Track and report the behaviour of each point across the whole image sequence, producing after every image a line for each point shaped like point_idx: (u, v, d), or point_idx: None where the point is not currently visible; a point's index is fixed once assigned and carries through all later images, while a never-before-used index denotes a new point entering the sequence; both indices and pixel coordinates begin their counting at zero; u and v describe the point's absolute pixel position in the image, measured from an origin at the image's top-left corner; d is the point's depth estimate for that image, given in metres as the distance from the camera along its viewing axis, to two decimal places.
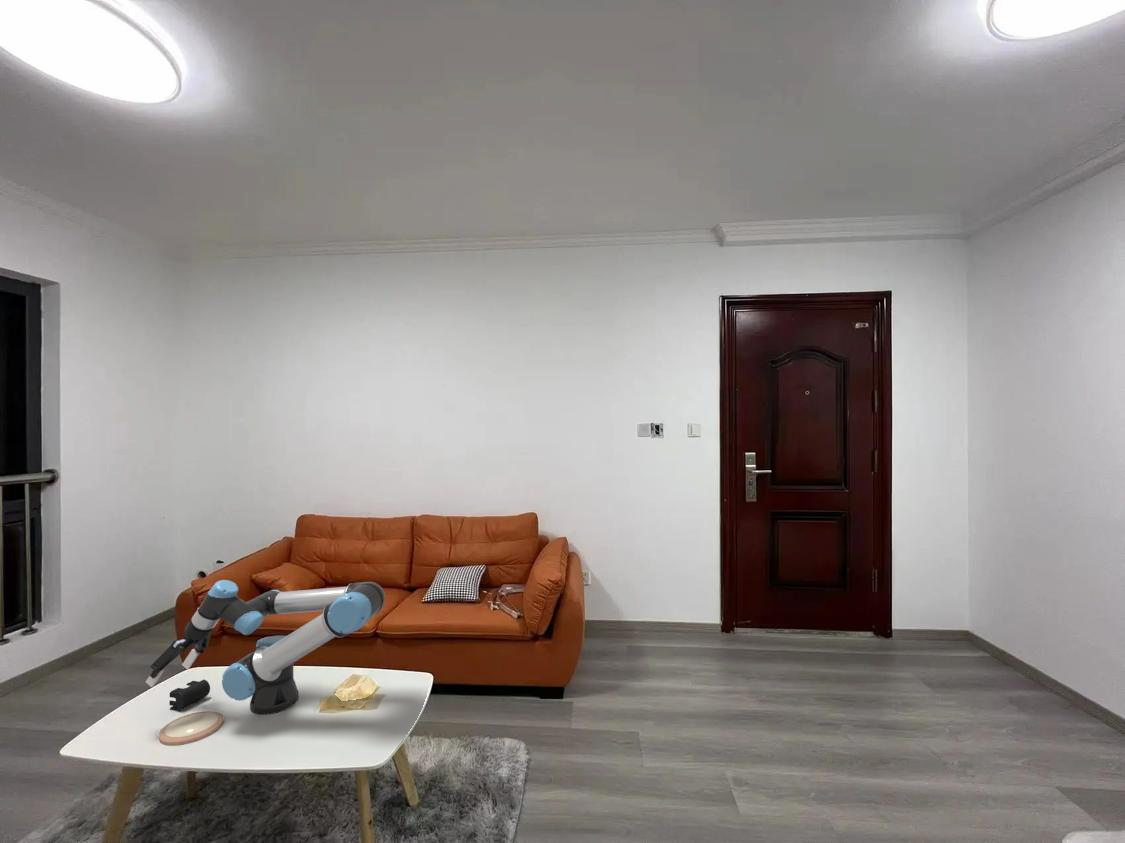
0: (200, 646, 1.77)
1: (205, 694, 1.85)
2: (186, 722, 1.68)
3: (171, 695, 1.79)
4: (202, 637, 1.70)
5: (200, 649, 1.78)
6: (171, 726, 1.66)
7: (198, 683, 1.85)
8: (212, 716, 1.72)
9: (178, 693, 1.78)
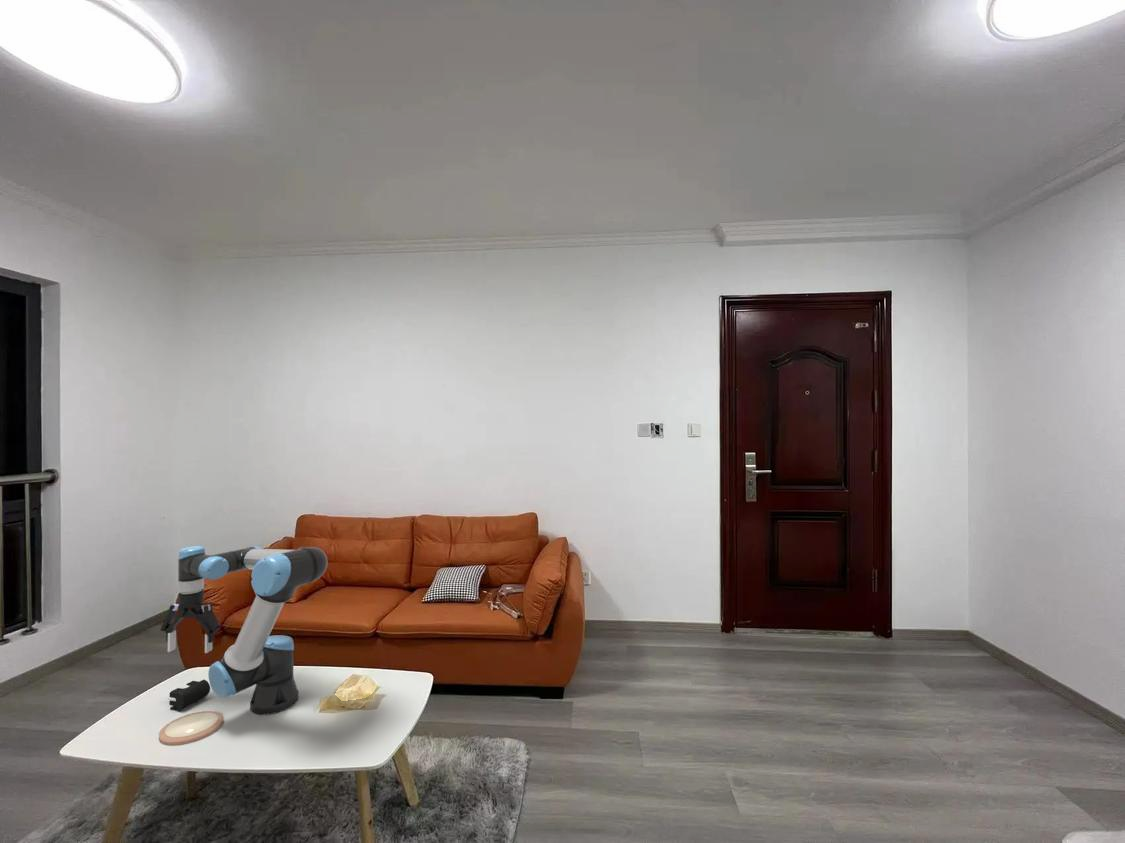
0: (202, 623, 1.82)
1: (205, 694, 1.85)
2: (186, 722, 1.68)
3: (171, 695, 1.79)
4: (179, 601, 1.80)
5: (205, 628, 1.82)
6: (171, 726, 1.66)
7: (198, 683, 1.85)
8: (212, 716, 1.72)
9: (178, 693, 1.78)
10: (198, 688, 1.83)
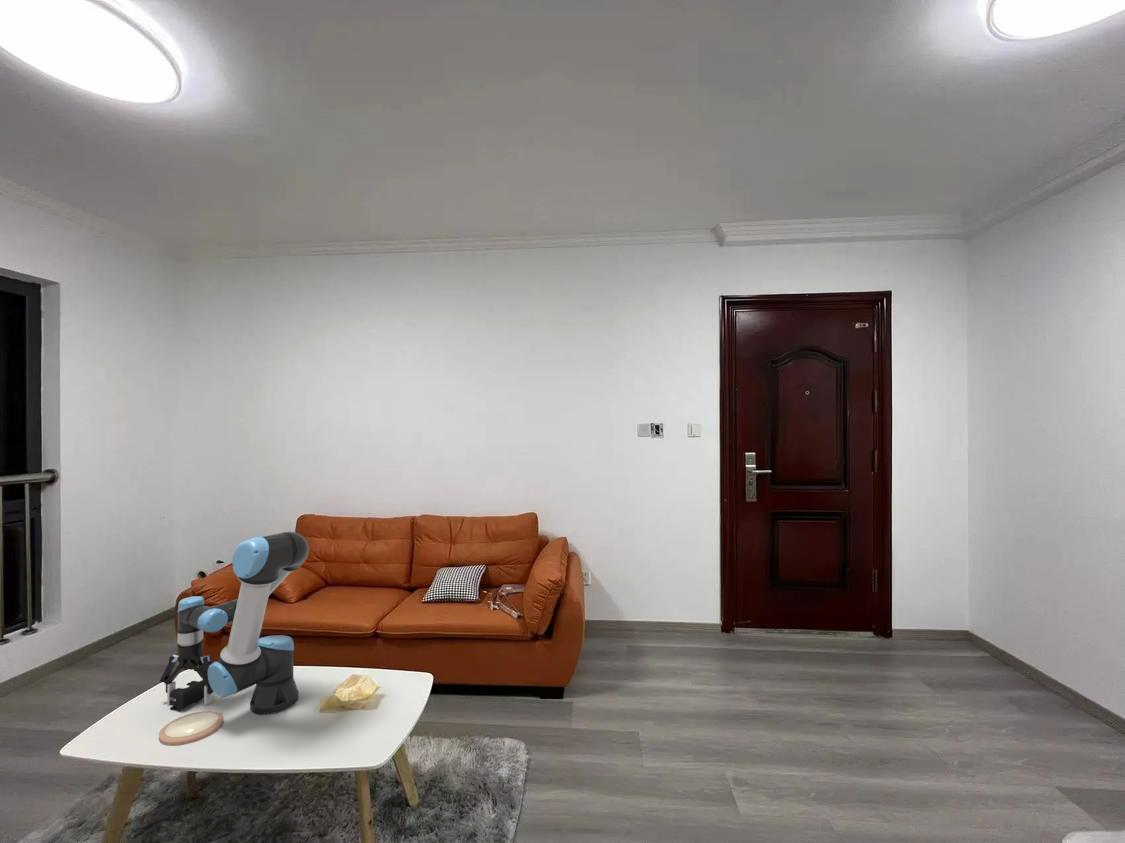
0: (201, 675, 1.82)
1: None
2: (186, 722, 1.68)
3: (171, 695, 1.79)
4: (178, 653, 1.80)
5: (205, 680, 1.82)
6: (171, 726, 1.66)
7: (198, 683, 1.85)
8: (212, 716, 1.72)
9: (178, 693, 1.78)
10: (198, 688, 1.83)
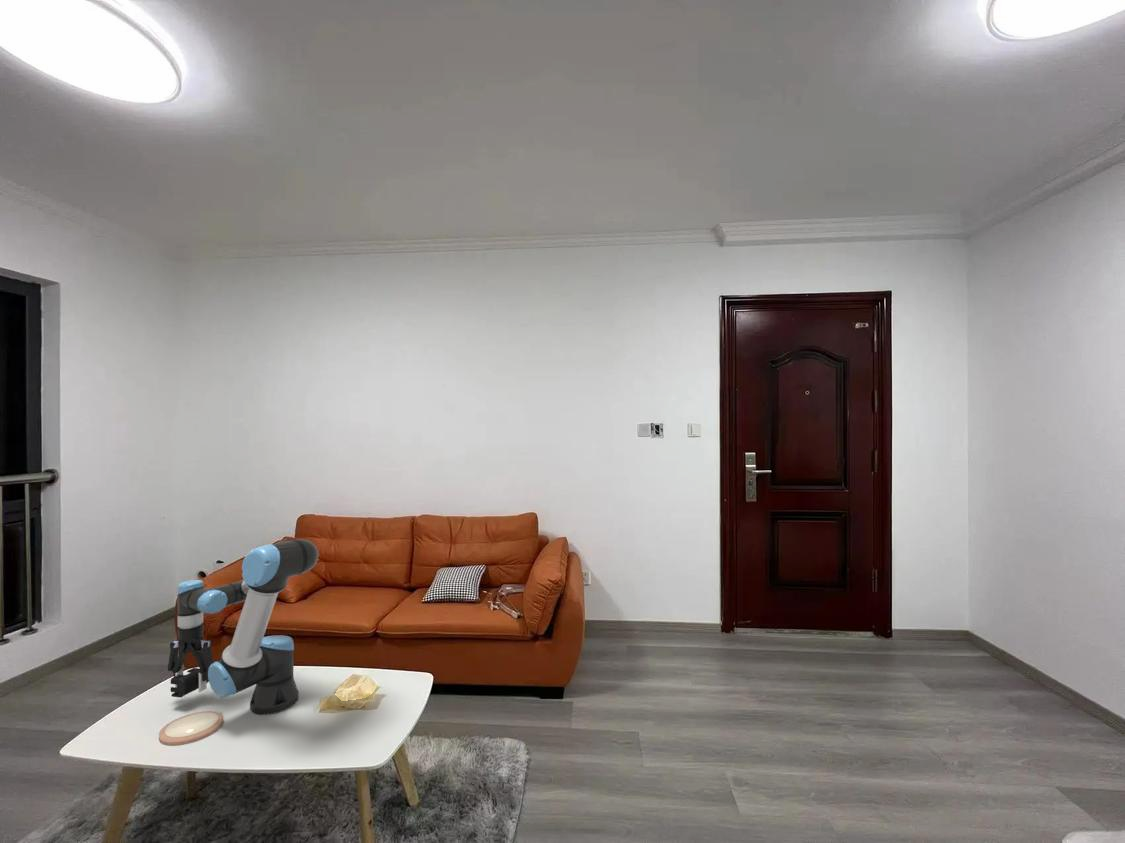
0: (198, 660, 1.82)
1: (206, 681, 1.85)
2: (186, 722, 1.68)
3: (172, 682, 1.79)
4: (179, 636, 1.80)
5: (200, 666, 1.82)
6: (171, 726, 1.66)
7: (199, 670, 1.85)
8: (212, 716, 1.72)
9: (179, 679, 1.78)
10: None
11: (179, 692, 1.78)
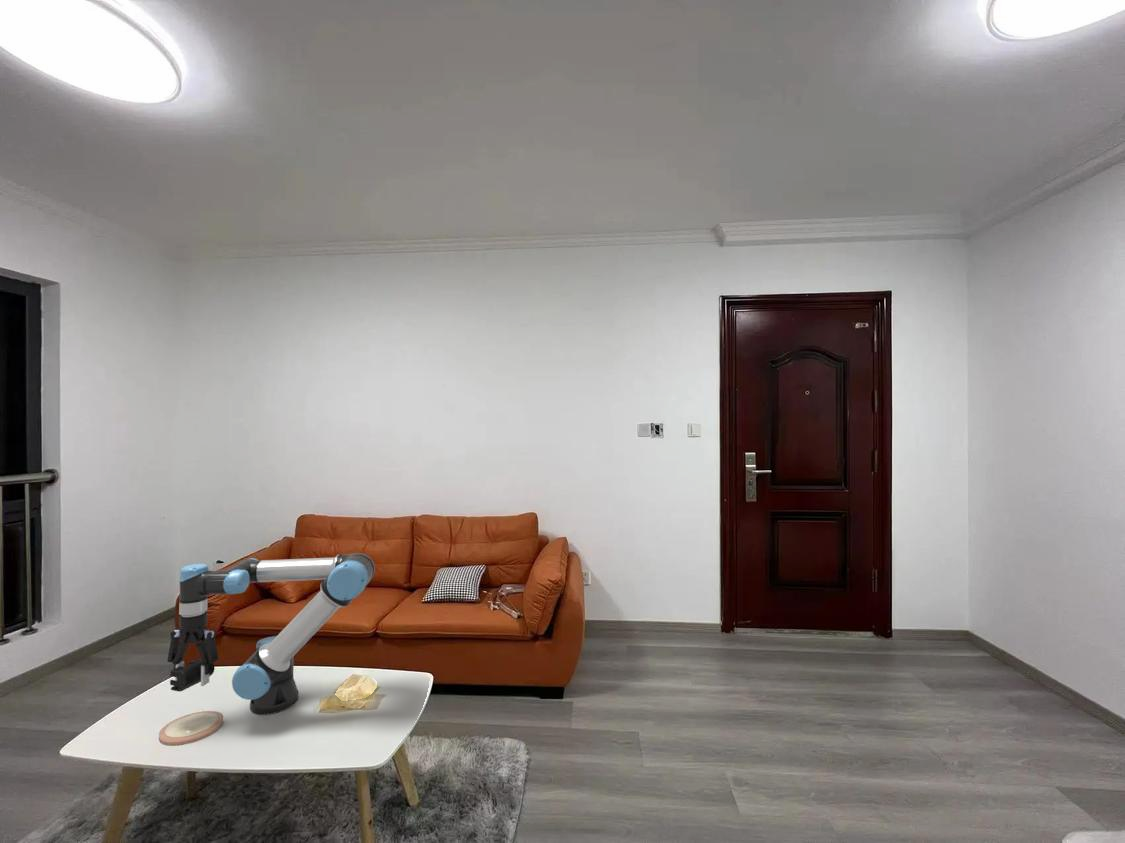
0: (201, 652, 1.67)
1: (209, 674, 1.70)
2: (186, 722, 1.68)
3: (172, 674, 1.64)
4: (180, 625, 1.65)
5: (203, 658, 1.66)
6: (171, 726, 1.66)
7: (201, 662, 1.69)
8: (212, 716, 1.72)
9: (180, 672, 1.63)
10: None
11: (179, 686, 1.63)
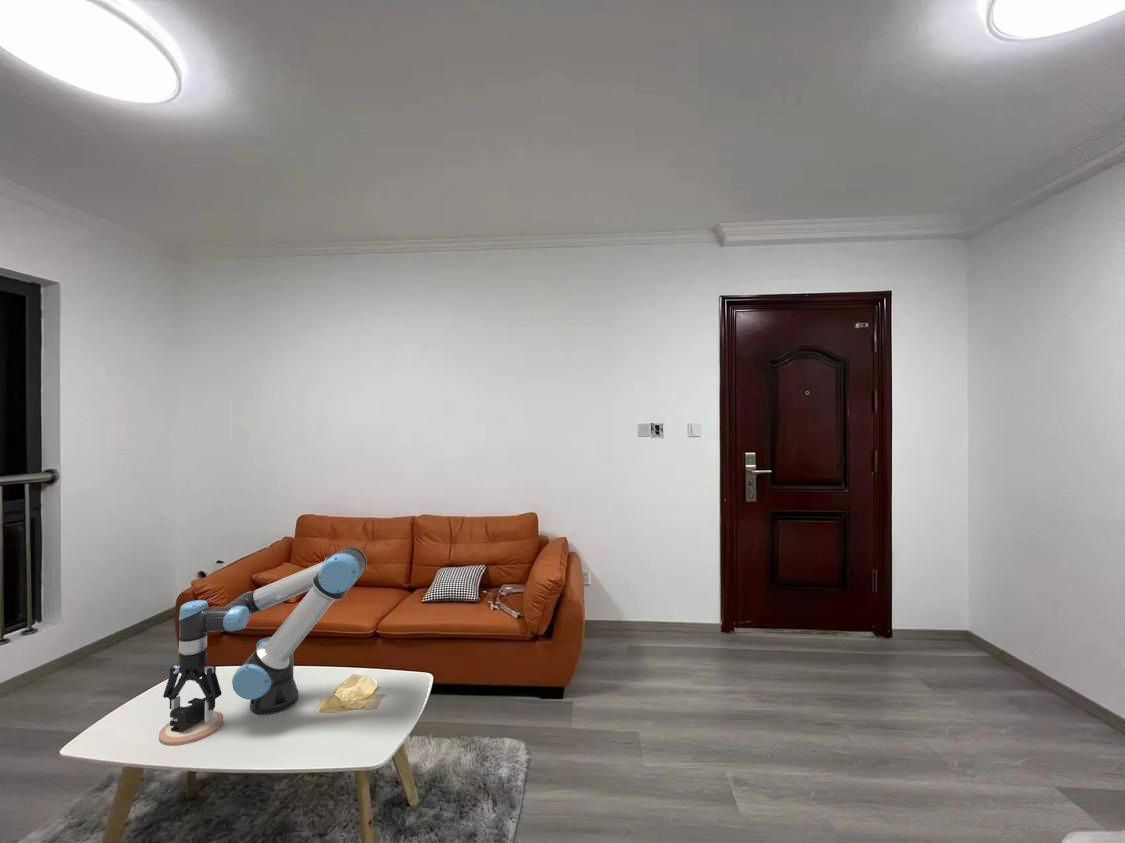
0: (203, 688, 1.66)
1: None
2: None
3: (172, 715, 1.64)
4: (180, 663, 1.64)
5: (206, 694, 1.66)
6: (171, 726, 1.66)
7: (201, 701, 1.69)
8: None
9: (180, 712, 1.62)
10: (201, 706, 1.68)
11: (180, 726, 1.62)
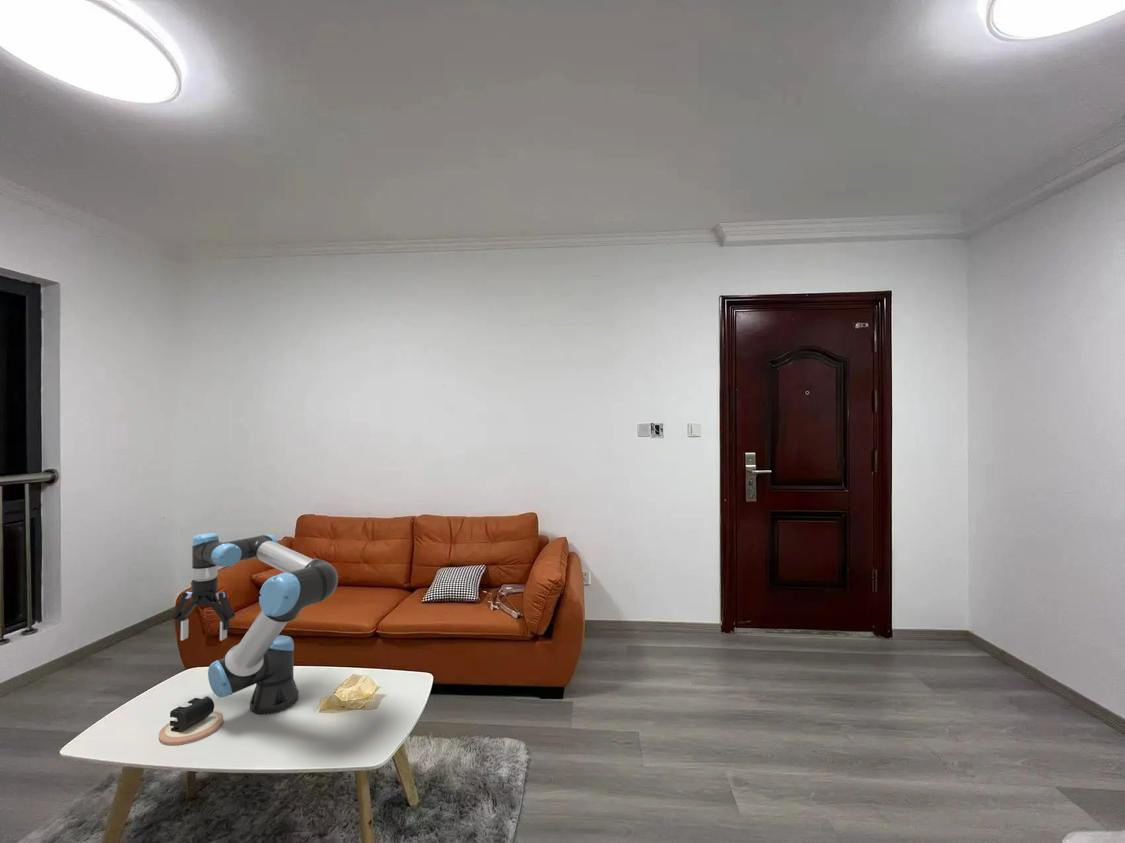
0: (217, 611, 1.80)
1: (209, 712, 1.70)
2: None
3: (172, 715, 1.64)
4: (193, 588, 1.78)
5: (220, 616, 1.80)
6: (171, 726, 1.66)
7: (201, 701, 1.69)
8: (212, 716, 1.72)
9: (180, 712, 1.62)
10: (202, 706, 1.68)
11: (180, 726, 1.62)
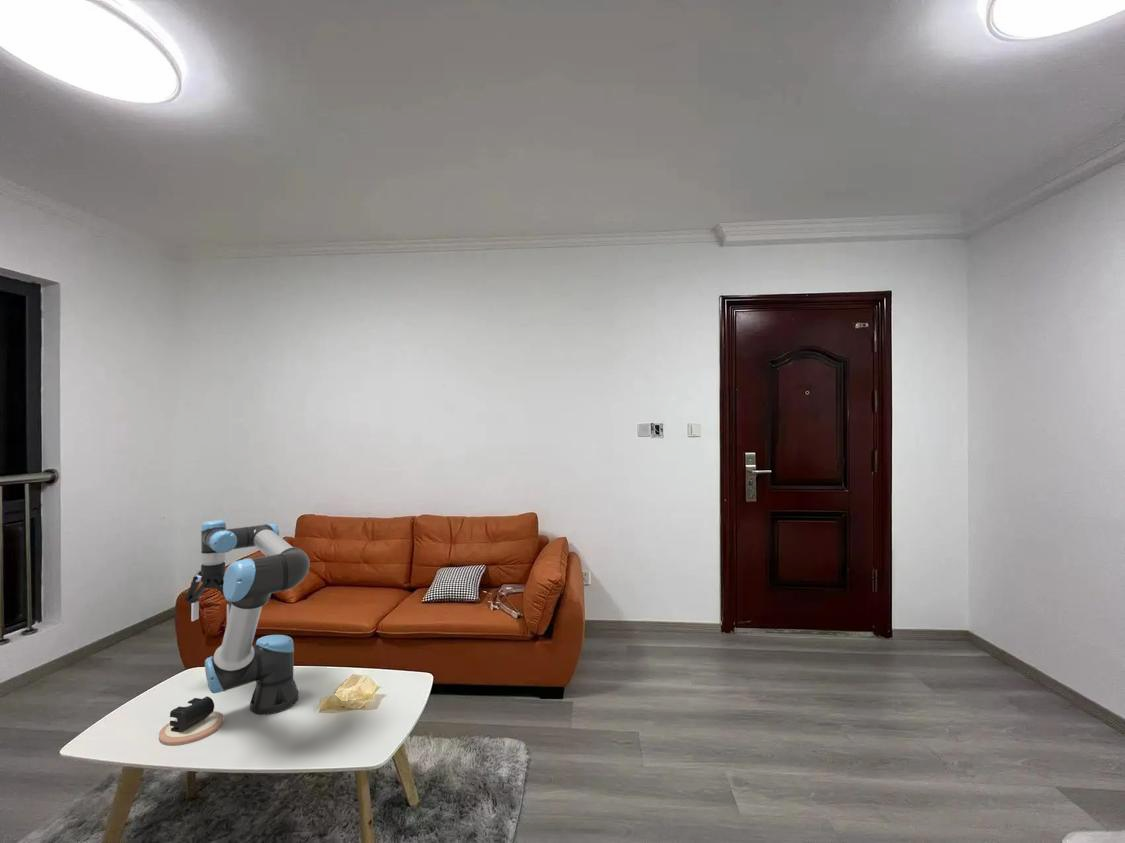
0: None
1: (209, 712, 1.70)
2: None
3: (172, 715, 1.64)
4: (202, 572, 1.89)
5: None
6: (171, 726, 1.66)
7: (201, 701, 1.69)
8: (212, 716, 1.72)
9: (180, 712, 1.62)
10: (201, 706, 1.68)
11: (180, 726, 1.62)
